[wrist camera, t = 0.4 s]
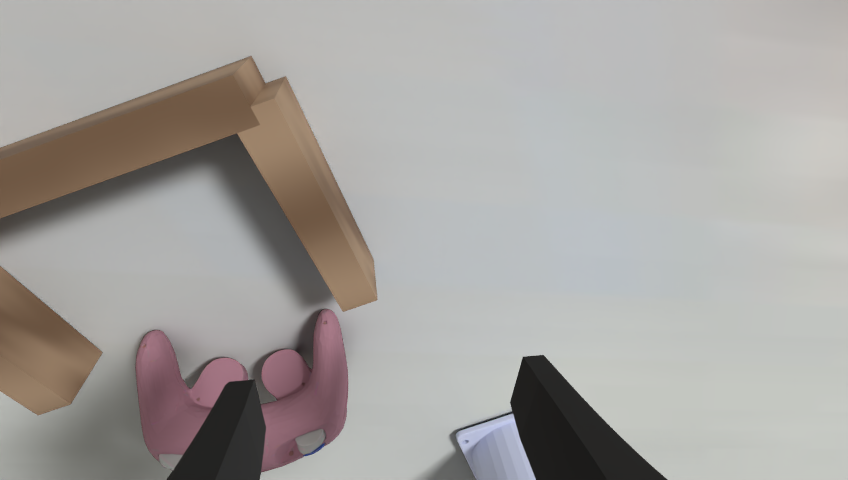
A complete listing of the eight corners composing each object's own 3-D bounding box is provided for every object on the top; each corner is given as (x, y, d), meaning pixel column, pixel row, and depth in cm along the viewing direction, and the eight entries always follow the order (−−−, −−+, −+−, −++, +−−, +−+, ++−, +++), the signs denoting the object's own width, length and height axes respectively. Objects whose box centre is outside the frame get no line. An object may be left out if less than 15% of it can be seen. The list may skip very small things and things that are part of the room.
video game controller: (175, 351, 24) (156, 492, 20) (130, 326, 20) (97, 495, 16) (348, 328, 25) (357, 457, 22) (339, 300, 21) (348, 454, 18)
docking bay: (373, 259, 20) (377, 299, 18) (73, 362, 21) (37, 415, 19) (272, 48, 15) (257, 65, 12) (-137, 198, 15) (-229, 243, 13)
